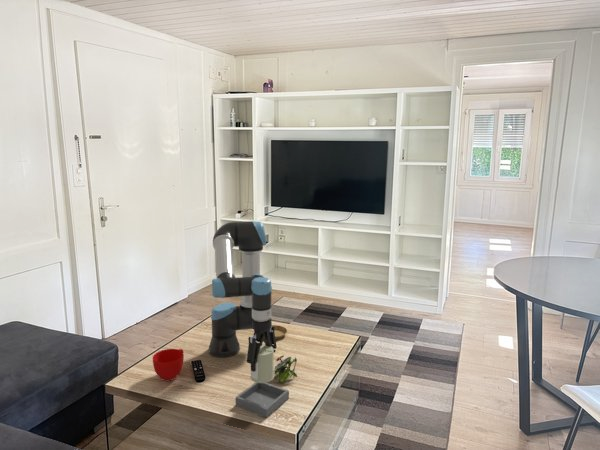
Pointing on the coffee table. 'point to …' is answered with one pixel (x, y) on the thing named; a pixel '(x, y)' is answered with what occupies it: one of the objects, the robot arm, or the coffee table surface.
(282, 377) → the passion flower
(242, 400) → the tray
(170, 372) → the red bowl
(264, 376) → the can
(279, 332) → the plant saucer
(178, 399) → the coffee table surface
